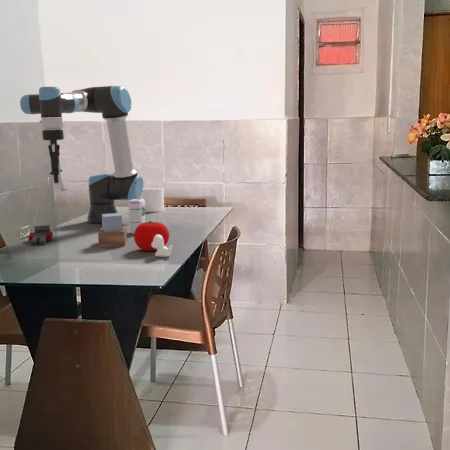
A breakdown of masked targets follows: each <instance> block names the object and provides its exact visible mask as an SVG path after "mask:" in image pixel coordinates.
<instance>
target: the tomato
mask: <svg viewBox="0 0 450 450" xmlns="http://www.w3.org/2000/svg"><path fill="white" fill-rule="evenodd" d="M157 234H158V235H161V236H162V237H163V240H164V246H165V247H166V245H167V244H168V242H169V239H170V231H169V229H168V227H167V225H165V224H164V223H162V222H159V221H152V220H149V221H146V222H144V223H142V224H140V225H139V226H138V227H137V228H136V230H135V233H134V234H133V240H134V243H135V245H136V246H137V247H138V248H139V249H140V250H142V251H147V252H154V251H157V248H153V247H152V244H151V243H152V242H153V240H154V236H155V235H157Z"/></svg>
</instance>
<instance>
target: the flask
mask: <svg viewBox="0 0 450 450" xmlns="http://www.w3.org/2000/svg"><path fill="white" fill-rule="evenodd" d="M60 170H61V164H60V165H59V174H60V184H61V192H66V191H68V187H67V185H66V184H65V182H64V178H63V176H62V172H60ZM48 192H49V193H50V192H51V193H54V192H53V180H52V177H51V180H50V183H49V186H48ZM61 192H60V193H61Z"/></svg>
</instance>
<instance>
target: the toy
mask: <svg viewBox="0 0 450 450" xmlns="http://www.w3.org/2000/svg"><path fill="white" fill-rule="evenodd" d="M33 227H34V232H30V233H29V235H28V241H30V245H31V246H32V247H33V246H34V247H35V246H37V245H39V246H45V245H46V242H47V241H51V240H52V239H53V237H54V236H53V231H52V229H51V224H49V223H46V224H34V226H33Z"/></svg>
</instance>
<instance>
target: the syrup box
mask: <svg viewBox="0 0 450 450" xmlns="http://www.w3.org/2000/svg"><path fill="white" fill-rule="evenodd" d="M127 201H128V202H127V204H128V207H127V208H128V219H129V220H128V221H129V231H130V234H133V235H134V233H135V230H136V228H137V227H138V226H139V225H140V224H142V223H144V222H147V212H146V210H145V199H142V198H139V199H133V200H130V201H129V200H127Z"/></svg>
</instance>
